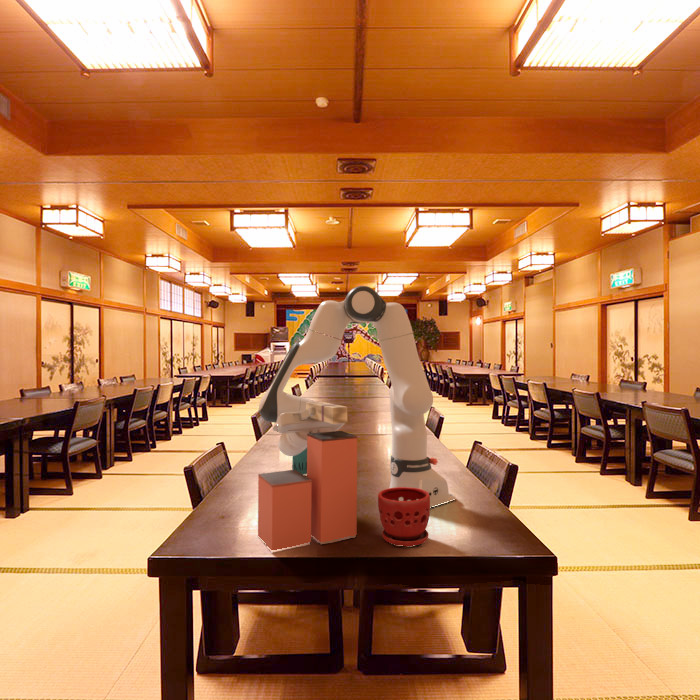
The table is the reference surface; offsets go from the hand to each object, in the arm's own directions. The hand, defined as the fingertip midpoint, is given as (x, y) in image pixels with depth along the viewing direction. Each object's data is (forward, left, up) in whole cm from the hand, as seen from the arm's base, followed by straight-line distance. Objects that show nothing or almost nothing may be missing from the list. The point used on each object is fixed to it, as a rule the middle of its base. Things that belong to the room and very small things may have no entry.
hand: (322, 409), depth 124 cm
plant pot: (-15, +17, -32) cm, 39 cm away
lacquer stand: (+6, +5, -32) cm, 33 cm away
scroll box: (0, +2, -2) cm, 3 cm away
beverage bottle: (-14, -49, -32) cm, 60 cm away
